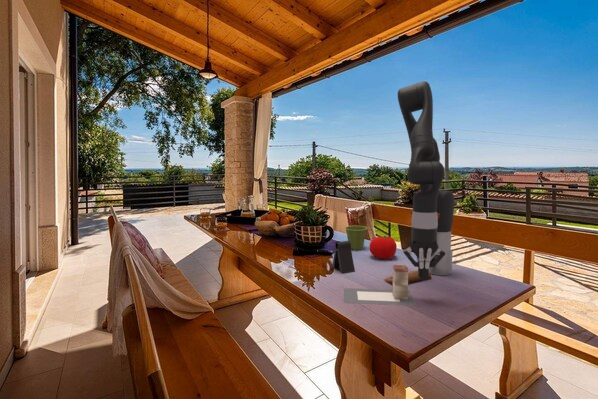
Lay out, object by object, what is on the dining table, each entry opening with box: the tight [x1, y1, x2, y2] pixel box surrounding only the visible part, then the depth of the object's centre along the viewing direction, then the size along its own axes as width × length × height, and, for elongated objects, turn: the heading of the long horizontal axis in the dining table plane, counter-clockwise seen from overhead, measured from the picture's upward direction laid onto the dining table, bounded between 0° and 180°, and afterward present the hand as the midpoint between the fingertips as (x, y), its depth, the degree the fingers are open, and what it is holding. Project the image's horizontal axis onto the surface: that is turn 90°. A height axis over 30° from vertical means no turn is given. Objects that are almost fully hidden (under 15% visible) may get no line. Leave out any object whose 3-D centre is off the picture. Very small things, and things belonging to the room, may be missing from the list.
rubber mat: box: [343, 287, 418, 307], centre depth 103 cm, size 22×12×1 cm, turn 82°
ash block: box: [392, 264, 409, 300], centre depth 102 cm, size 4×4×10 cm
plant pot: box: [344, 225, 368, 251], centre depth 166 cm, size 12×12×11 cm
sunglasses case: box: [383, 270, 432, 287], centre depth 118 cm, size 18×7×7 cm
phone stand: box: [331, 240, 356, 274], centre depth 133 cm, size 9×6×12 cm, turn 21°
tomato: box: [368, 235, 398, 260], centre depth 149 cm, size 13×12×11 cm
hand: (423, 279), depth 101 cm, fingers closed
